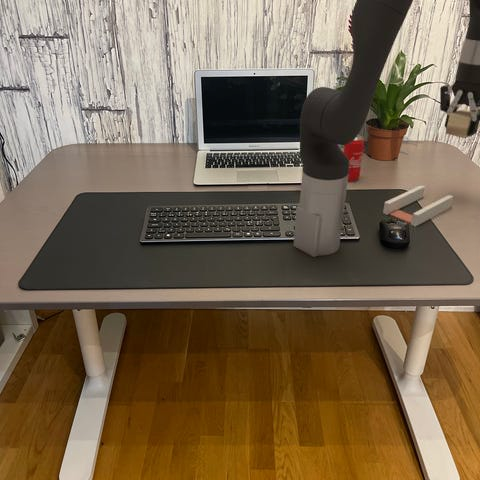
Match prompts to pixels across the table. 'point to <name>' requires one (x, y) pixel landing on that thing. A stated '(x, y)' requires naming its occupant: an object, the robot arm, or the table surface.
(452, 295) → the table surface
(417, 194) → the channel
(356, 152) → the beverage can
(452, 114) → the maple block
